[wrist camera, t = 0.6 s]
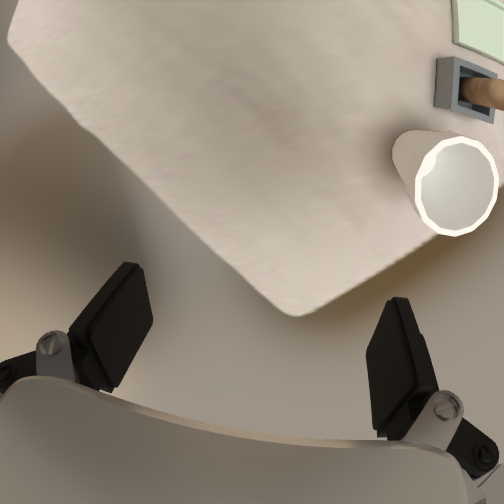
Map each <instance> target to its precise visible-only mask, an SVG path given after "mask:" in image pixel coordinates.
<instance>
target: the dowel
mask: <svg viewBox="0 0 504 504" xmlns="http://www.w3.org/2000/svg"><path fill="white" fill-rule="evenodd" d="M458 101H461V102H467V103H472V104H477V105H481V106H486V107H490V108H494V109H498V110H502V111H504V80H502V79H493V78H477V77H459V91H458Z"/></svg>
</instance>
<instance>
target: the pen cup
mask: <svg viewBox="0 0 504 504" xmlns="http://www.w3.org/2000/svg"><path fill="white" fill-rule="evenodd" d="M459 77H477V78H493V79H497V74H496V73H494V72H491V71H489V70H487V69H485V68H482V67H480V66H478V65H475V64H473V63H470V62H468V61H465V60H462V59H460V58H457V57H446V58H439V59H437V61H436V82H435V96H434V106H435V107H439V108H442V109H446V110H449V111H453V112H456V113H459V114H462V115H465V116H468V117H471V118H474V119H478V120H481V121H484V122H487V123H490V124H493V123H494V114H495V109H494V108H490V107H486V106H481V105H477V104H472V103H467V102H461V101H458V91H459Z"/></svg>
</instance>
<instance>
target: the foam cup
mask: <svg viewBox="0 0 504 504" xmlns="http://www.w3.org/2000/svg"><path fill="white" fill-rule="evenodd" d="M392 161H393V163H394V165H395V167H396V169H397V171H398V173H399V175H400V177H401V179H402V181H403V182H404V184H405V186H406V188H407V194H408V196H409V198H410V200H411V203H412V205H413V207H414V210H415V211H416V213H417V214H418V215H419V217H420V218H421V219H422V221H423V222H424V223H426V224H427V225H428V226H429V227H430V228H432V229H433V230H434V231H435V232H436V233H438V234H444V235H449V236H458V235H462V234H465V233H468V232H471V231H473V230H474V229H475V228H477V226H479V225H480V224H481V223H482V222H483V221H484V220H485V219H487V217H488V215H489V213H490V212H491V209H492V208H493V206H494V204H495V202H496V199H497V192H498V183H499V176H498V172H497V169H496V165H495V162H494V158H493V157H492V155H491V154H490V153H489V152H488V151H487V150H486V148H485V147H484V146H483V145H482V144H481V143H480V142H479V141H476V140H474V139H472V138H469V137H467V136H464V135H461V134H458V133H454V132H451V131H448V132H434V131H422V130H411V131H407V132H404V133H403V134H401V135H400V136H399V137H398V138H397V139H396V141H395V143H394V146H393V148H392Z"/></svg>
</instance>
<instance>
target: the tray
mask: <svg viewBox="0 0 504 504" xmlns="http://www.w3.org/2000/svg"><path fill="white" fill-rule="evenodd" d="M451 5H452V23H453V43H454V44H456V45H459V46H462V47H464V48H467V49H469V50H472V51H474V52H476V53H479V54H481V55H483V56H486V57H488V58H490V59H492V60H494V61H496V62H499V63H501V64H503V65H504V3H502V2H501V1H499V0H451Z"/></svg>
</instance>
